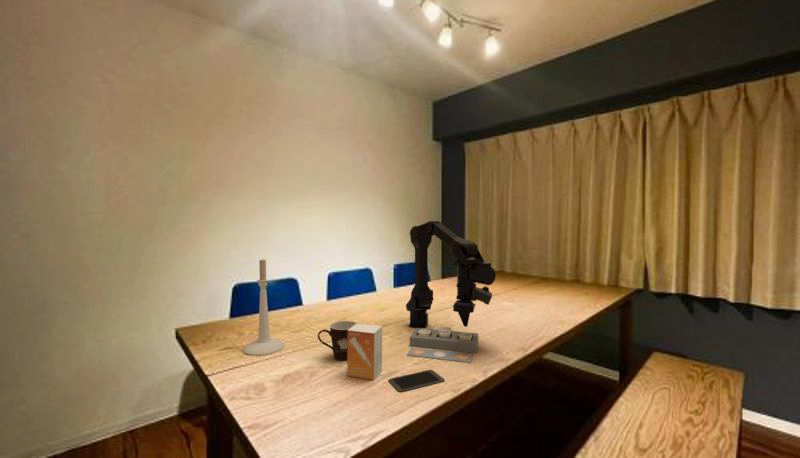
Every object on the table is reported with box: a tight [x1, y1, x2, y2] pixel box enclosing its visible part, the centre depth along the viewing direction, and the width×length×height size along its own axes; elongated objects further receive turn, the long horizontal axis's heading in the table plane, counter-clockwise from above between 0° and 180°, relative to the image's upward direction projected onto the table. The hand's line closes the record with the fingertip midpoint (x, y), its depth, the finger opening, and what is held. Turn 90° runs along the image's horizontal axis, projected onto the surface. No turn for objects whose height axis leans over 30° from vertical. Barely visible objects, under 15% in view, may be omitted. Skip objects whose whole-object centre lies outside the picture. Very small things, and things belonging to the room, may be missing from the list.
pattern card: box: [406, 347, 473, 364], centre depth 110 cm, size 20×6×1 cm, turn 74°
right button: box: [459, 331, 472, 340], centre depth 118 cm, size 4×4×3 cm
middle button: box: [437, 326, 452, 338], centre depth 120 cm, size 4×4×3 cm
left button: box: [418, 328, 431, 336], centre depth 122 cm, size 4×4×3 cm
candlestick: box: [242, 259, 286, 356], centre depth 115 cm, size 13×13×30 cm
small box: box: [346, 323, 383, 381], centre depth 97 cm, size 8×6×13 cm
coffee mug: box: [317, 320, 358, 362], centre depth 109 cm, size 12×9×10 cm
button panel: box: [409, 327, 479, 354], centre depth 120 cm, size 22×10×3 cm, turn 74°
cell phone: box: [387, 369, 446, 393], centre depth 93 cm, size 7×14×1 cm, turn 116°
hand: (465, 326), depth 117 cm, fingers closed
